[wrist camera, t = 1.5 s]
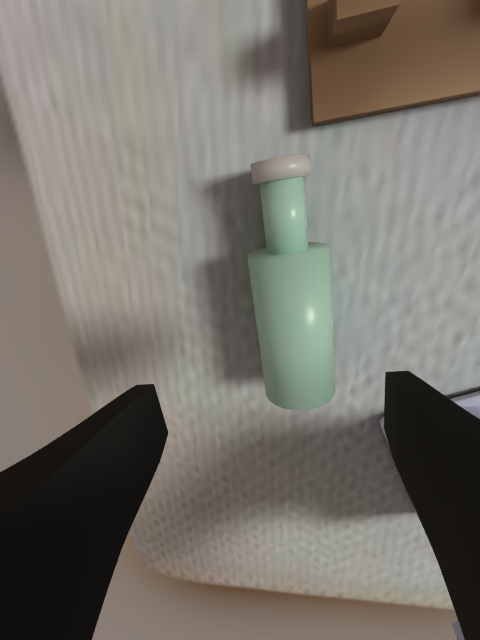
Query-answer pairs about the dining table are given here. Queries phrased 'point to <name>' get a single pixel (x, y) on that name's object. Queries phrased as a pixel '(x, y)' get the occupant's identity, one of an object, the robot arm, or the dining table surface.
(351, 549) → the dining table surface
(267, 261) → the bottle
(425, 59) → the bottle cradle
